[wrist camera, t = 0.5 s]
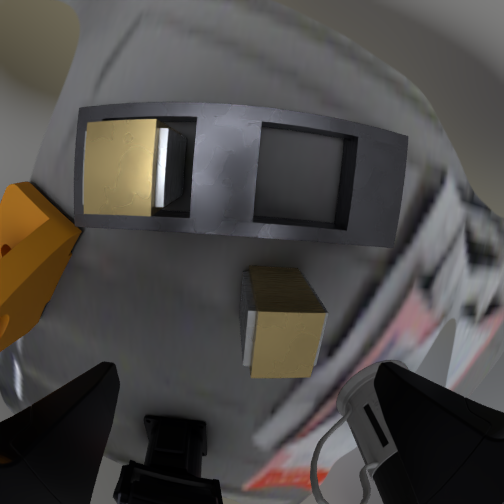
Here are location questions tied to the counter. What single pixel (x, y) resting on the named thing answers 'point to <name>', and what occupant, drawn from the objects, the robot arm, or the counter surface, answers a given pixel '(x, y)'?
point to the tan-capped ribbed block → (132, 167)
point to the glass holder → (369, 441)
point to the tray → (245, 173)
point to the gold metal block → (280, 323)
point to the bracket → (29, 257)
